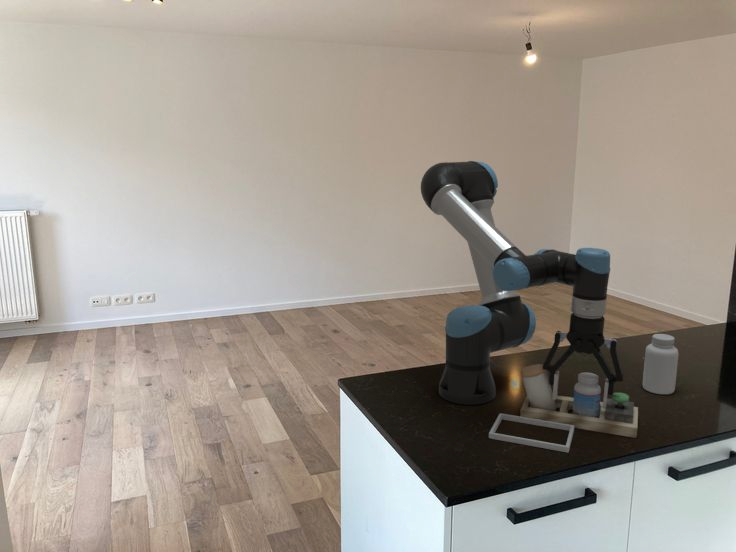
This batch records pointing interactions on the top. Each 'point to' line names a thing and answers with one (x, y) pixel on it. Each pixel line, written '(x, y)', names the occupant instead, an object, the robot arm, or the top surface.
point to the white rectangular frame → (529, 441)
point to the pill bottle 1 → (587, 395)
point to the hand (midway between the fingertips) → (579, 402)
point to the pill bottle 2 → (660, 365)
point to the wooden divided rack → (608, 421)
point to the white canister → (538, 387)
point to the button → (620, 399)
